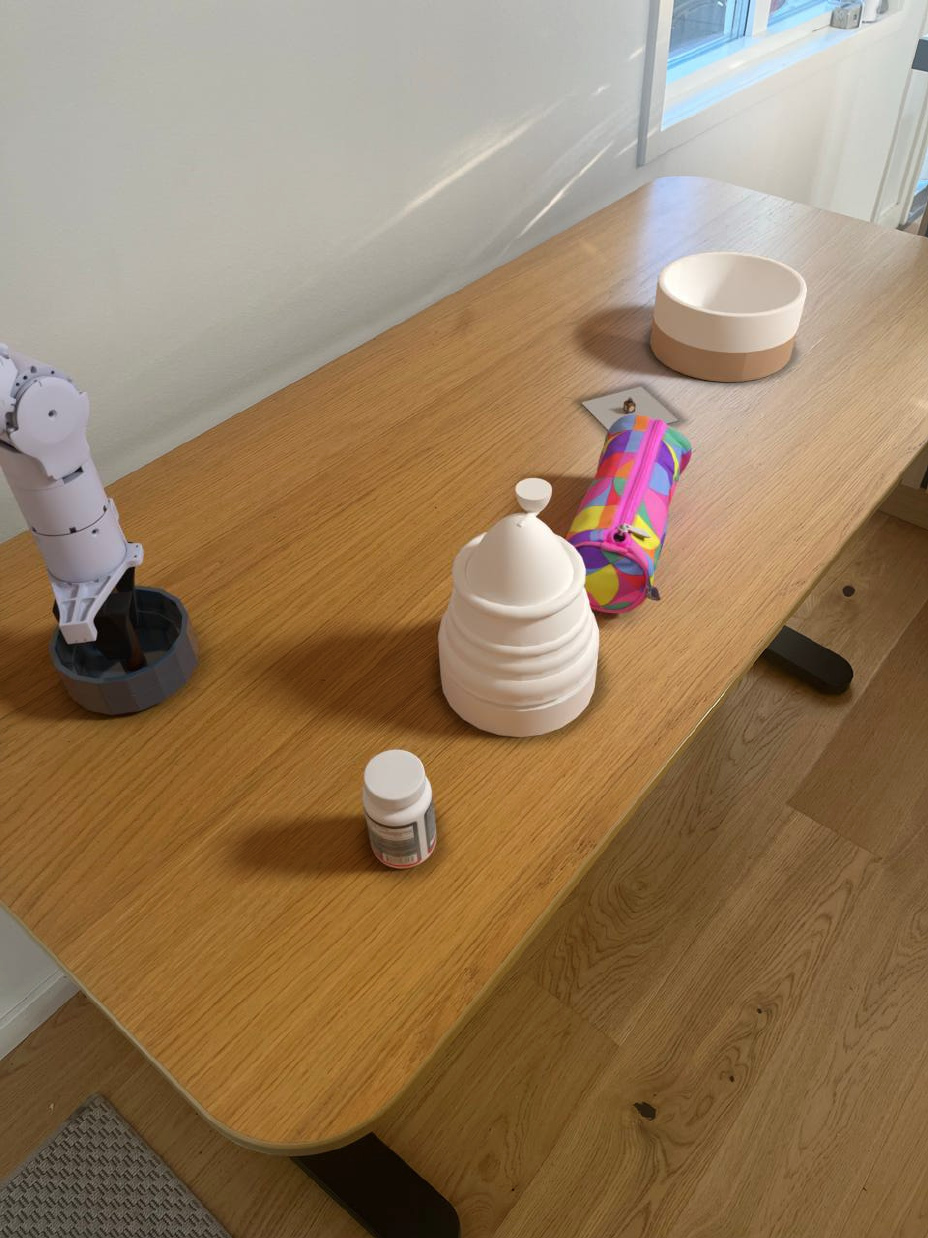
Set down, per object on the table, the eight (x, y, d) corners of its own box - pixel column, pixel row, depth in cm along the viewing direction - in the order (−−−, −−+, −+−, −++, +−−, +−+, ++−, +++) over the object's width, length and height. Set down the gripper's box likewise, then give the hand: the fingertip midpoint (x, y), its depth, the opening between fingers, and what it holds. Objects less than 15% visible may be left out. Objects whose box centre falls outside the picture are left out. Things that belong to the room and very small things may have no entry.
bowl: (729, 399, 105) (742, 331, 99) (620, 344, 114) (627, 279, 109) (820, 349, 112) (838, 283, 106) (711, 301, 122) (722, 238, 116)
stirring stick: (120, 673, 77) (81, 586, 70) (123, 656, 78) (85, 569, 71) (144, 670, 77) (108, 583, 70) (147, 653, 78) (111, 566, 71)
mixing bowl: (58, 727, 74) (38, 691, 70) (78, 631, 81) (61, 594, 78) (196, 709, 74) (182, 672, 71) (203, 615, 82) (191, 578, 79)
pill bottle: (406, 801, 68) (397, 731, 62) (450, 840, 65) (445, 771, 59) (357, 841, 65) (342, 772, 59) (401, 883, 63) (390, 816, 57)
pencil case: (654, 635, 79) (667, 556, 72) (547, 614, 81) (551, 536, 75) (687, 487, 93) (700, 411, 87) (596, 473, 95) (603, 397, 89)
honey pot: (488, 602, 82) (485, 433, 69) (620, 653, 77) (643, 480, 65) (411, 698, 75) (392, 527, 62) (552, 761, 70) (563, 590, 57)
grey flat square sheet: (641, 386, 107) (642, 372, 106) (678, 420, 102) (680, 405, 101) (581, 402, 105) (581, 388, 104) (615, 438, 100) (617, 423, 99)
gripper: (112, 570, 61) (165, 700, 71) (134, 448, 71) (178, 576, 81) (3, 583, 60) (71, 713, 70) (42, 458, 71) (97, 586, 80)
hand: (123, 640), depth 75 cm, fingers open, 3 cm apart
